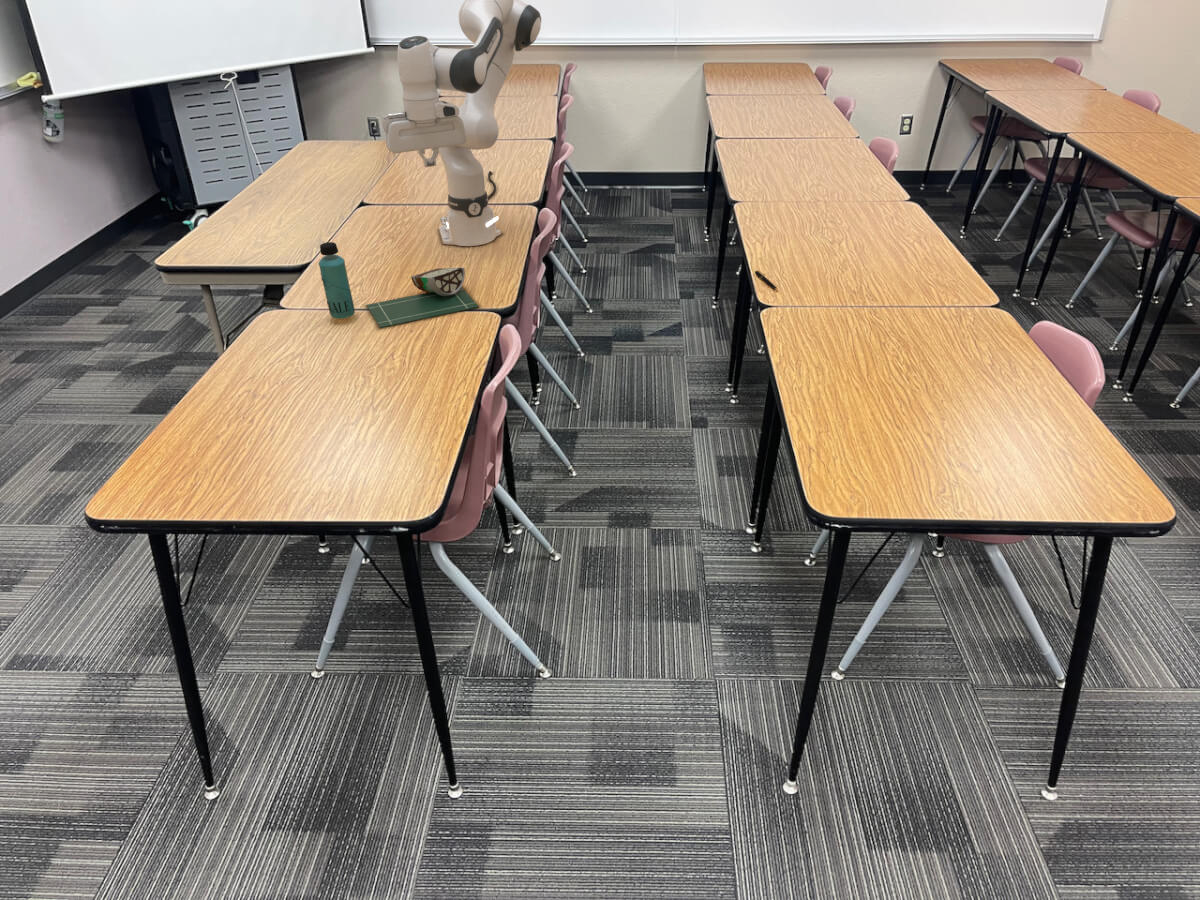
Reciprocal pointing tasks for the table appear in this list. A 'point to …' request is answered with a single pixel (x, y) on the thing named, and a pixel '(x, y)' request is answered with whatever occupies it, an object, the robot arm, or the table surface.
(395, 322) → the cutting mat
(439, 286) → the grey green half-round piece
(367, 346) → the table surface
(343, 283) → the beverage bottle
